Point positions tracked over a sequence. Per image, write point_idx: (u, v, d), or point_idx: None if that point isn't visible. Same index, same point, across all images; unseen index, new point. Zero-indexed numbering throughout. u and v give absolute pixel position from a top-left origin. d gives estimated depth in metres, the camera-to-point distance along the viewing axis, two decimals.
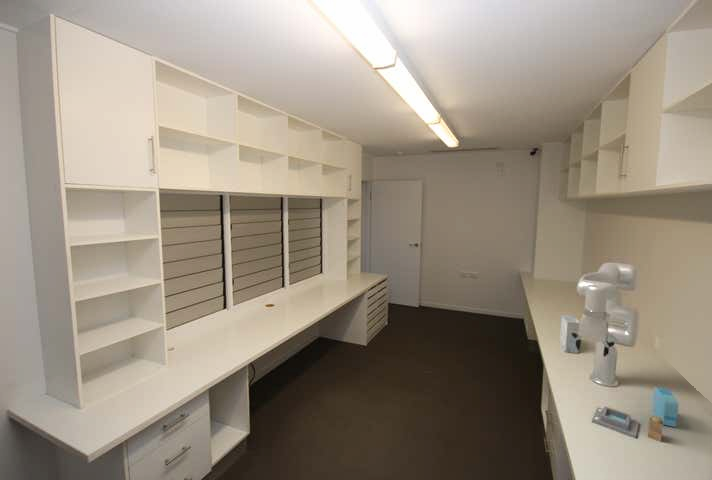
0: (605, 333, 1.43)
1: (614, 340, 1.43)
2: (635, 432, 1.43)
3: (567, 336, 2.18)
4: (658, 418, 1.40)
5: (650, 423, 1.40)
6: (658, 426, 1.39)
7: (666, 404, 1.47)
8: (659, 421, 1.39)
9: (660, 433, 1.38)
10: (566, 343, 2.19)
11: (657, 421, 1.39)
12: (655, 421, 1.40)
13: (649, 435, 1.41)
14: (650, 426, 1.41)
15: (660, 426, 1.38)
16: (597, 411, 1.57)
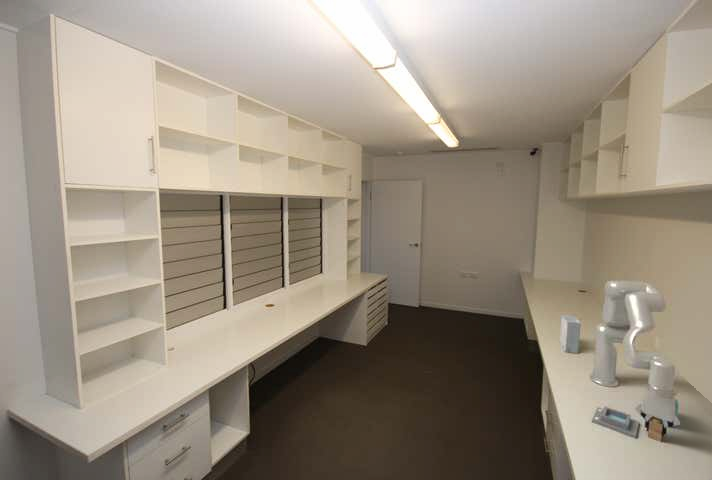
0: (672, 413, 1.35)
1: (676, 422, 1.36)
2: (635, 432, 1.43)
3: (567, 336, 2.18)
4: (658, 418, 1.40)
5: (650, 423, 1.40)
6: (658, 426, 1.39)
7: None
8: (659, 421, 1.39)
9: (660, 433, 1.38)
10: (566, 343, 2.19)
11: (657, 421, 1.39)
12: (655, 421, 1.40)
13: (649, 435, 1.41)
14: (650, 426, 1.41)
15: (660, 426, 1.38)
16: (597, 411, 1.57)
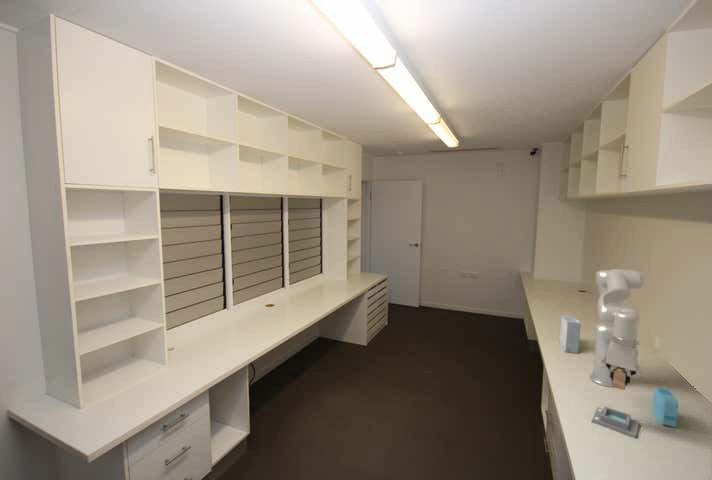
0: (635, 361, 1.42)
1: (638, 371, 1.43)
2: (635, 432, 1.43)
3: (567, 336, 2.18)
4: (622, 368, 1.47)
5: (614, 373, 1.47)
6: (622, 375, 1.46)
7: (666, 404, 1.47)
8: (623, 371, 1.46)
9: (624, 382, 1.45)
10: (566, 343, 2.19)
11: (621, 371, 1.46)
12: (619, 371, 1.46)
13: (614, 384, 1.48)
14: (614, 376, 1.47)
15: (623, 375, 1.45)
16: (597, 411, 1.57)
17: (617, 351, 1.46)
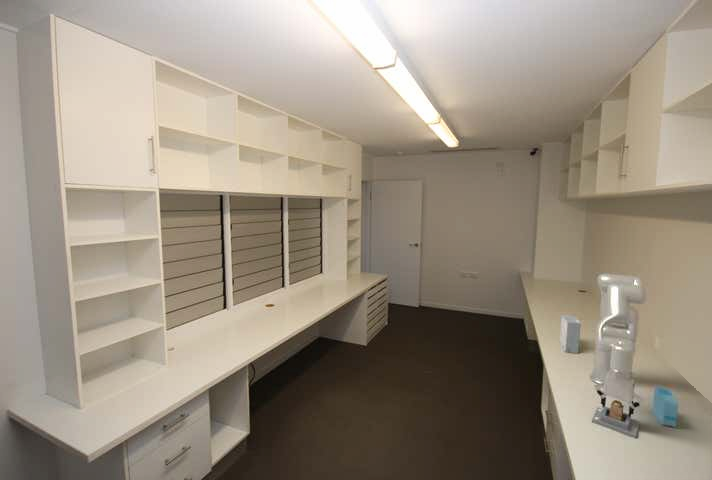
0: (631, 394, 1.44)
1: (640, 401, 1.43)
2: (635, 432, 1.43)
3: (567, 336, 2.18)
4: (619, 402, 1.49)
5: (611, 407, 1.49)
6: (618, 410, 1.47)
7: (666, 404, 1.47)
8: (619, 406, 1.48)
9: (620, 416, 1.47)
10: (566, 343, 2.19)
11: (617, 405, 1.48)
12: (616, 405, 1.48)
13: None
14: (611, 410, 1.49)
15: (620, 410, 1.47)
16: (597, 411, 1.57)
17: (614, 383, 1.47)
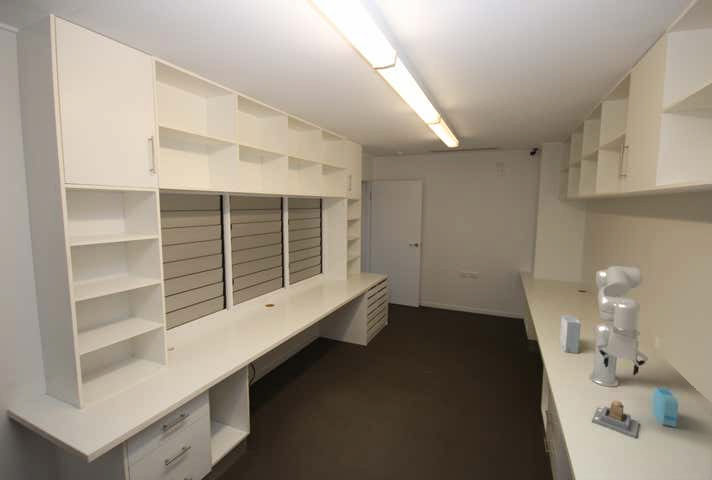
0: (635, 352, 1.42)
1: (644, 359, 1.41)
2: (635, 432, 1.43)
3: (567, 336, 2.18)
4: (619, 402, 1.49)
5: (611, 407, 1.49)
6: (618, 410, 1.47)
7: (666, 404, 1.47)
8: (619, 406, 1.48)
9: (620, 416, 1.47)
10: (566, 343, 2.19)
11: (617, 405, 1.48)
12: (616, 405, 1.48)
13: None
14: (611, 410, 1.49)
15: (620, 410, 1.47)
16: (597, 411, 1.57)
17: (618, 342, 1.45)
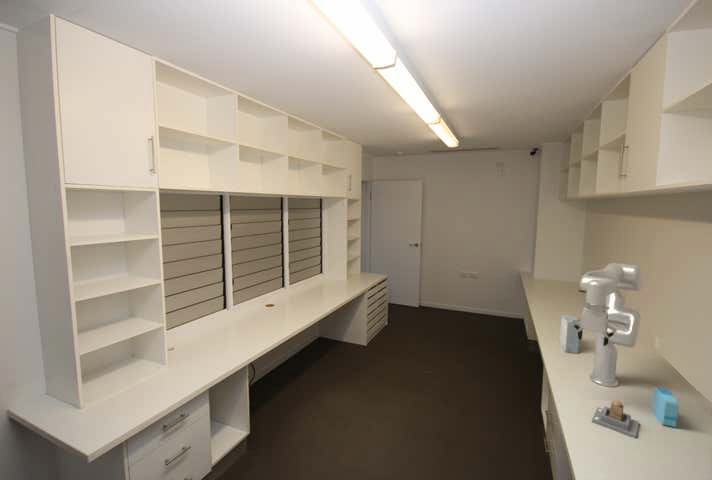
0: (605, 324, 1.56)
1: (613, 331, 1.55)
2: (635, 432, 1.43)
3: (567, 336, 2.18)
4: (619, 402, 1.49)
5: (611, 407, 1.49)
6: (618, 410, 1.47)
7: (666, 404, 1.47)
8: (619, 406, 1.48)
9: (620, 416, 1.47)
10: (566, 343, 2.19)
11: (617, 405, 1.48)
12: (616, 405, 1.48)
13: None
14: (611, 410, 1.49)
15: (620, 410, 1.47)
16: (597, 411, 1.57)
17: (589, 316, 1.59)
